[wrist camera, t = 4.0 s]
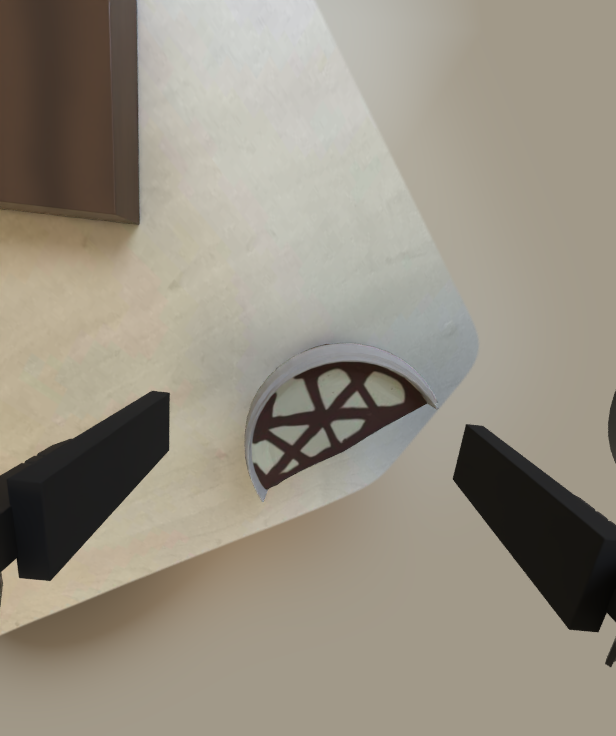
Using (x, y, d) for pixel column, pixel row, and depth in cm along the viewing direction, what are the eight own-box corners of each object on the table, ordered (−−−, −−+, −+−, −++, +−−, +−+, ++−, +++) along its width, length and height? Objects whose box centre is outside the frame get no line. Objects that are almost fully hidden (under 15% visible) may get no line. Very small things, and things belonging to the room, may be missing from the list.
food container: (362, 300, 25) (394, 303, 15) (397, 364, 26) (447, 404, 17) (236, 376, 27) (193, 421, 17) (275, 433, 28) (254, 506, 18)
